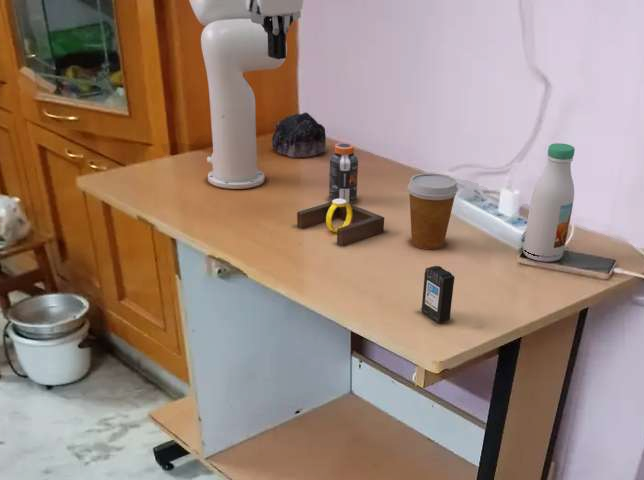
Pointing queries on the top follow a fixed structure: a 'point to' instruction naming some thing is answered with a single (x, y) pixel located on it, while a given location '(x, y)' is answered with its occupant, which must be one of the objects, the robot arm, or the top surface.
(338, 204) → the watch
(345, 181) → the pill bottle
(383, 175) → the top surface
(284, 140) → the crystal cluster
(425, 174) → the disposable coffee cup
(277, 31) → the robot arm
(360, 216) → the bay
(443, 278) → the ink cartridge
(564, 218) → the milk bottle
